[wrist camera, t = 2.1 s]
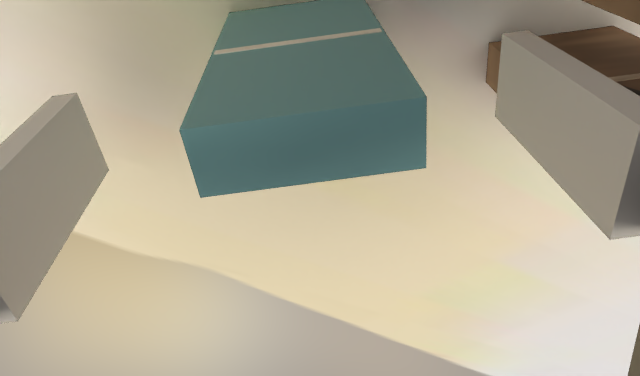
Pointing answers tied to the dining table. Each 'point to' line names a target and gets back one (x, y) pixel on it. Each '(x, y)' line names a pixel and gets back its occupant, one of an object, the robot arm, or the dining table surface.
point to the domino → (303, 101)
